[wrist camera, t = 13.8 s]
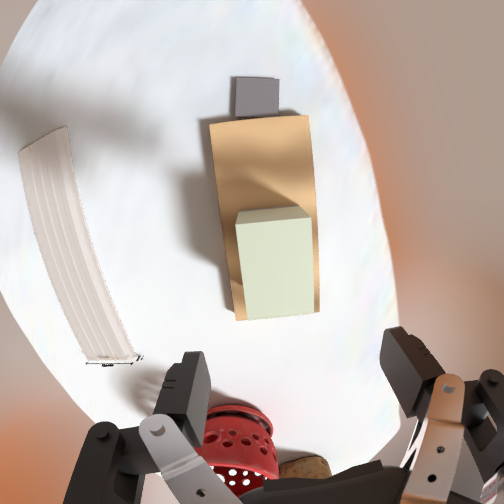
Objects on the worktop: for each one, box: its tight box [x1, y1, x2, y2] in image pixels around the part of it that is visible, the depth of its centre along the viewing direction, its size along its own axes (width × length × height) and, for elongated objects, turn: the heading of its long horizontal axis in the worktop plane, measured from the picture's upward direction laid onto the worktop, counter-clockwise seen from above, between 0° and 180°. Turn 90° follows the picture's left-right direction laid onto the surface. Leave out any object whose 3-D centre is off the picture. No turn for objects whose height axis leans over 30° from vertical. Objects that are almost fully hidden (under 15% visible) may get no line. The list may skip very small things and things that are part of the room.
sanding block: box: [235, 205, 314, 320], centre depth 24 cm, size 8×6×6 cm
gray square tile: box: [235, 78, 279, 118], centre depth 24 cm, size 4×4×1 cm
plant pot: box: [194, 405, 279, 498], centre depth 32 cm, size 13×13×12 cm
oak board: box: [209, 115, 319, 321], centre depth 27 cm, size 20×9×2 cm, turn 6°
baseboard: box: [18, 126, 144, 367], centre depth 28 cm, size 30×3×10 cm
